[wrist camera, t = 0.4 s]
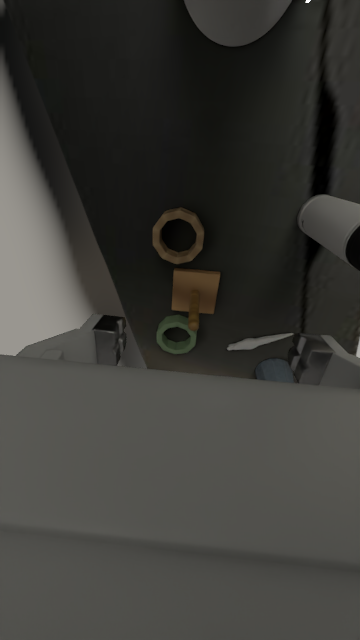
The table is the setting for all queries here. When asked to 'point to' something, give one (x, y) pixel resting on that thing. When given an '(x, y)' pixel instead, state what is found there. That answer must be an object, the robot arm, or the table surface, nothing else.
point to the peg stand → (194, 293)
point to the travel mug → (333, 226)
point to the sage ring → (171, 345)
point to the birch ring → (168, 253)
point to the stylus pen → (256, 342)
